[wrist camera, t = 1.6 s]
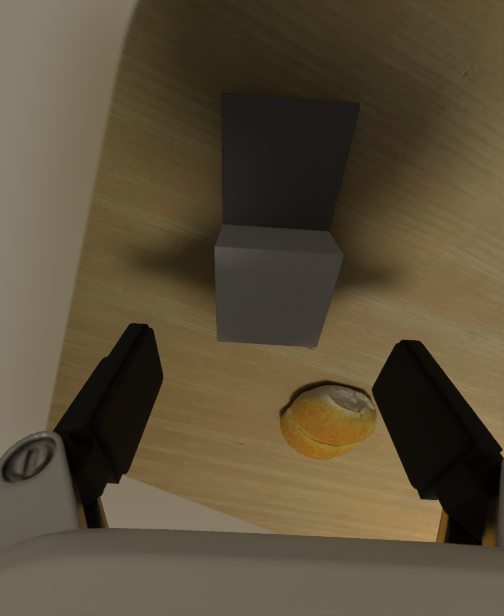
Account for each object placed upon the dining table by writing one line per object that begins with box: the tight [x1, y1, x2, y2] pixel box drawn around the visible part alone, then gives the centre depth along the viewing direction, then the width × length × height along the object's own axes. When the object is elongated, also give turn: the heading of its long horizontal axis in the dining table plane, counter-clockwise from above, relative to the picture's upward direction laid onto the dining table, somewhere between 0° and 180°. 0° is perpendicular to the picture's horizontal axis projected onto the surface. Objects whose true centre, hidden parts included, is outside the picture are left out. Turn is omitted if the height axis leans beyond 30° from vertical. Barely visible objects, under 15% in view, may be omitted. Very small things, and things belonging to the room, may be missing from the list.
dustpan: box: [214, 93, 360, 347], centre depth 13 cm, size 11×6×4 cm, turn 177°
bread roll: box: [280, 385, 377, 460], centre depth 24 cm, size 8×9×4 cm
